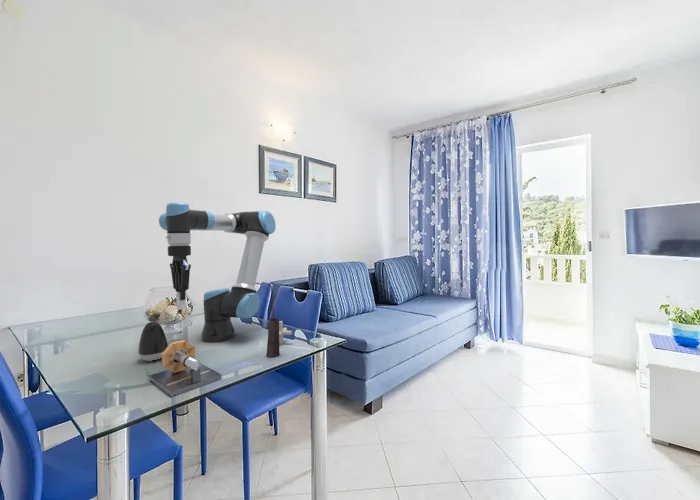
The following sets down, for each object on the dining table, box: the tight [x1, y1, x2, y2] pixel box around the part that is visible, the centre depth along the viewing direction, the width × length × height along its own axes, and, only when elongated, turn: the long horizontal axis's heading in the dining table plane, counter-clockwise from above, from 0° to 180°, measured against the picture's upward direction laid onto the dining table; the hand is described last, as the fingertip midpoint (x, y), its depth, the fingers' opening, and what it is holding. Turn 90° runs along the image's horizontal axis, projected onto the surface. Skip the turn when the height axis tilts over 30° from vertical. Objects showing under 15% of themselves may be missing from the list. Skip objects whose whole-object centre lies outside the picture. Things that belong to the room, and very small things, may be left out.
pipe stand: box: [148, 350, 222, 398], centre depth 109 cm, size 19×16×9 cm
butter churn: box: [266, 285, 281, 358], centre depth 129 cm, size 9×10×28 cm
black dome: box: [137, 320, 169, 362], centre depth 128 cm, size 10×10×15 cm
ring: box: [161, 339, 196, 373], centre depth 112 cm, size 2×10×10 cm, turn 139°
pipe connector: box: [279, 320, 293, 345], centre depth 144 cm, size 10×10×10 cm
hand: (181, 308), depth 119 cm, fingers closed
